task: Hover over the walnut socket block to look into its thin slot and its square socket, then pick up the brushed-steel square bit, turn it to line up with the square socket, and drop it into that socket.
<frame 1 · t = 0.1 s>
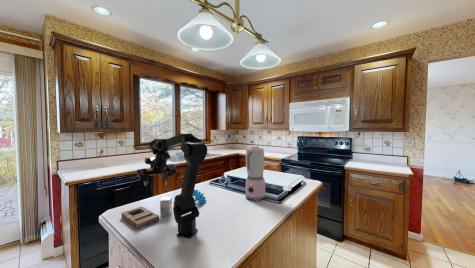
hand: (154, 183, 101), 15 cm above the counter, tool tilted 35°, fingers open, 9 cm apart
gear: (199, 202, 113), on the counter
blender: (254, 199, 117), on the counter
square bit: (166, 214, 98), on the counter
socket block: (140, 219, 93), on the counter
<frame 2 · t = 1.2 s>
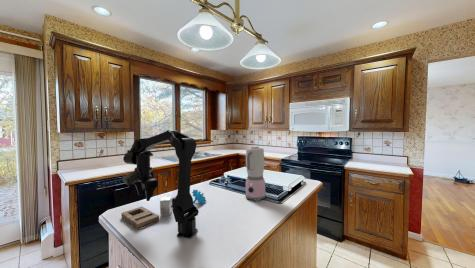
hand: (143, 198, 90), 11 cm above the counter, tool pointing down, fingers open, 9 cm apart
nothing on the counter moved.
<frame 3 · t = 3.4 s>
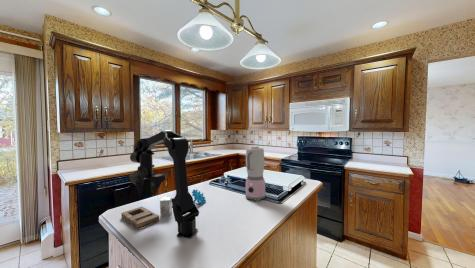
hand: (147, 194, 96), 11 cm above the counter, tool pointing down, fingers open, 9 cm apart
nothing on the counter moved.
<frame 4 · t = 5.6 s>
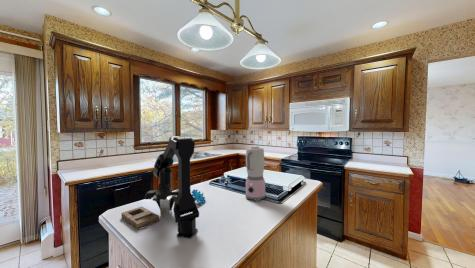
hand: (166, 210, 98), 2 cm above the counter, tool pointing down, fingers closed on square bit, 4 cm apart
square bit: (166, 214, 98), on the counter, touching gripper
everything else where it was.
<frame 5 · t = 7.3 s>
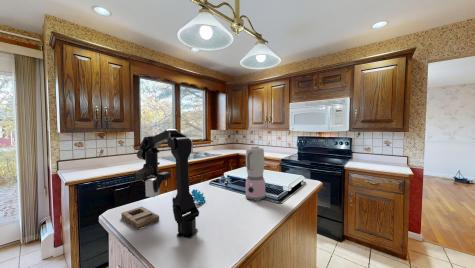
hand: (152, 191, 97), 12 cm above the counter, tool pointing down, fingers closed on square bit, 4 cm apart
square bit: (152, 195, 97), point 10 cm above the counter, touching gripper
everything else where it was.
when the fingers open (4 cm above the counter, at t = 9.5 s): square bit drops 2 cm, resting on socket block.
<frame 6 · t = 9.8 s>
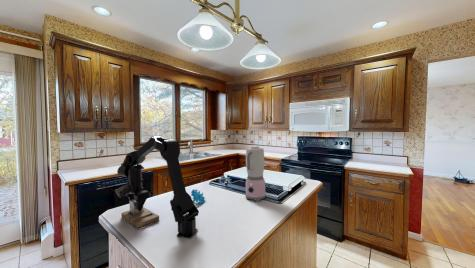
hand: (136, 209, 95), 4 cm above the counter, tool pointing down, fingers open, 7 cm apart
square bit: (136, 216, 95), resting on socket block
everything else where it was.
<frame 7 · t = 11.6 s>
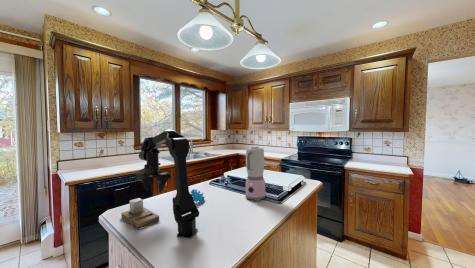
hand: (153, 191, 99), 11 cm above the counter, tool pointing down, fingers open, 9 cm apart
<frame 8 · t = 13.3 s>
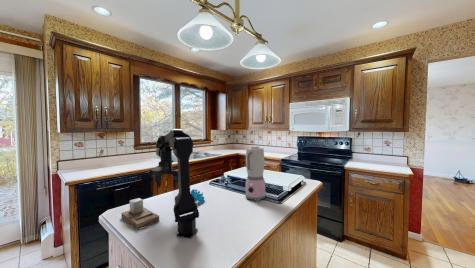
hand: (167, 188, 102), 12 cm above the counter, tool pointing down, fingers open, 9 cm apart
at the end: square bit 0.1 cm from the target spot, point 0.5 cm above the counter; square bit tilted 0°; the gripper is holding nothing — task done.
